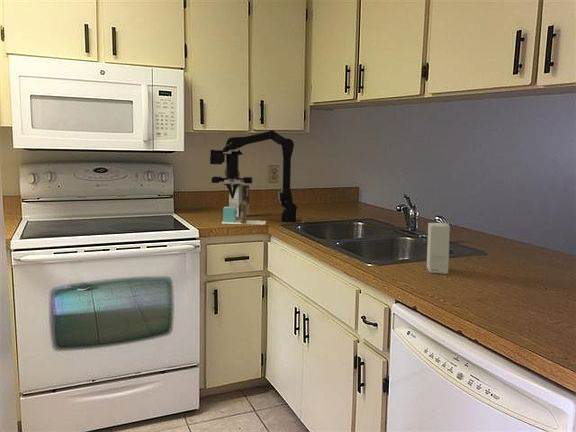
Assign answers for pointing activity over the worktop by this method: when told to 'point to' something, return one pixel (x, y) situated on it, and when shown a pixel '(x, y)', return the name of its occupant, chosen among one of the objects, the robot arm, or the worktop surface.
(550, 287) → the worktop surface
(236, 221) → the board
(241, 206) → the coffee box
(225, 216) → the light blue block
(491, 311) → the worktop surface
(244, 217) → the walnut dowel
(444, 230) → the skincare box
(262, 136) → the robot arm
